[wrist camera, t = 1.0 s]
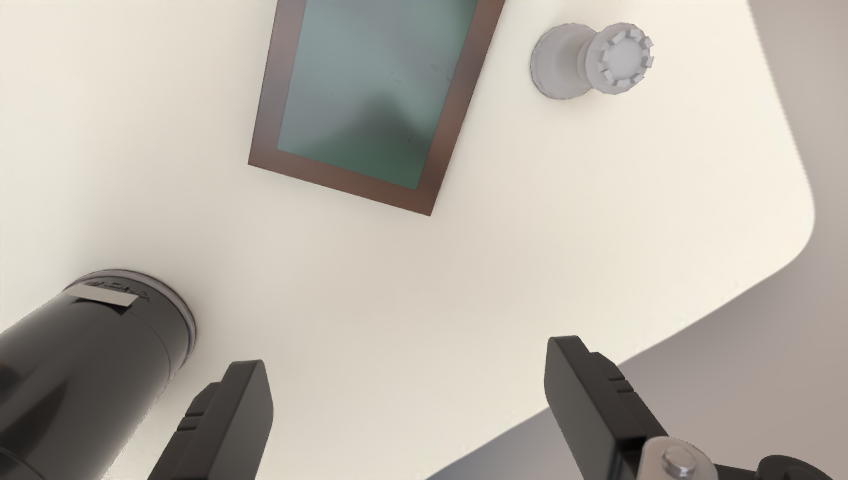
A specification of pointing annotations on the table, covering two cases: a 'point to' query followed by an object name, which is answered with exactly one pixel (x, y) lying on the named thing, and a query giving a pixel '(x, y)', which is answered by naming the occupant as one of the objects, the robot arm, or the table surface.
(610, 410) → the robot arm
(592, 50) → the rook chess piece
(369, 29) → the desk board
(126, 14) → the table surface
